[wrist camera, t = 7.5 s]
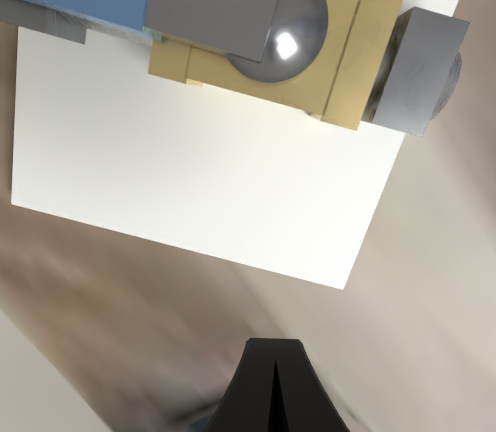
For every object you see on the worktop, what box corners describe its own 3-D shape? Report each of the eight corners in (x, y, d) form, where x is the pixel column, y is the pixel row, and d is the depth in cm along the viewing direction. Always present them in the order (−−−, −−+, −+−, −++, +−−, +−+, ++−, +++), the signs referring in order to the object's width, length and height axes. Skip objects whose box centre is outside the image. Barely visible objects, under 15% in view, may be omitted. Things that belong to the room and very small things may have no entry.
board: (505, -138, 14) (519, -152, 13) (340, 282, 20) (343, 289, 19) (45, -279, 13) (31, -302, 12) (21, 199, 19) (11, 204, 18)
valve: (446, 29, 15) (504, 7, 11) (401, 141, 16) (440, 153, 13) (23, -93, 14) (-60, -156, 11) (18, 36, 16) (-56, 18, 12)
